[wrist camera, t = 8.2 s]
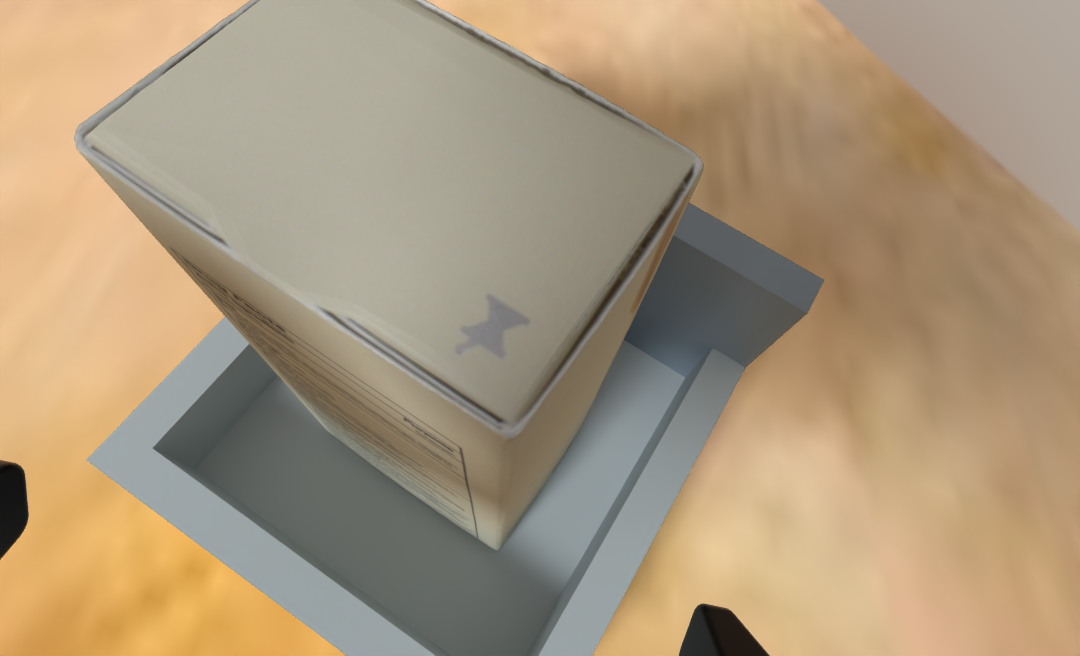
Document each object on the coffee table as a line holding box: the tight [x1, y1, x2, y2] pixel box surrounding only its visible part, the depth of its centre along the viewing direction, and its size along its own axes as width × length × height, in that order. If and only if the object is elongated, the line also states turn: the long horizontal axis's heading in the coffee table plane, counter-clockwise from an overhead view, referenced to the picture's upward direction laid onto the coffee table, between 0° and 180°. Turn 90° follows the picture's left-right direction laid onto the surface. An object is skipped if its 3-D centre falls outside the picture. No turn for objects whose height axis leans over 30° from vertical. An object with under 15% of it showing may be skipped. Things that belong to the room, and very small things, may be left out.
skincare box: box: [74, 0, 704, 550], centre depth 13 cm, size 6×4×12 cm
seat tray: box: [87, 203, 824, 656], centre depth 16 cm, size 12×12×7 cm
